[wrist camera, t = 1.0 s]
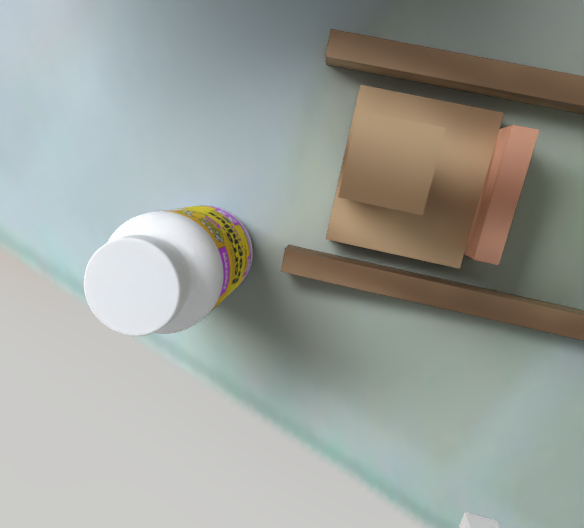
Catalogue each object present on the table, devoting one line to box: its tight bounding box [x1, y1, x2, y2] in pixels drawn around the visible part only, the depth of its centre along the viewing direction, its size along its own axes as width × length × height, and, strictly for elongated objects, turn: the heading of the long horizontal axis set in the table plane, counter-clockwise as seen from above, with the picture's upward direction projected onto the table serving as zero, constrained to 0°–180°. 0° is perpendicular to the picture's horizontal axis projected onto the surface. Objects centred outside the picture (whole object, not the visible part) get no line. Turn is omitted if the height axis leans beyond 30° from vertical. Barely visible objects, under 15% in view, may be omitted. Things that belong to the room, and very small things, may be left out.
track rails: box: [281, 29, 584, 340], centre depth 30 cm, size 16×26×2 cm, turn 78°
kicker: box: [326, 85, 539, 269], centre depth 25 cm, size 10×10×13 cm
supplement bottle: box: [84, 206, 253, 336], centre depth 27 cm, size 7×7×13 cm
